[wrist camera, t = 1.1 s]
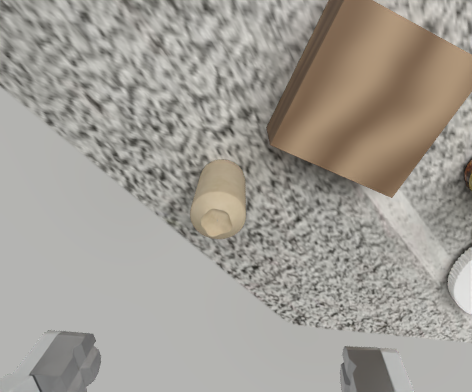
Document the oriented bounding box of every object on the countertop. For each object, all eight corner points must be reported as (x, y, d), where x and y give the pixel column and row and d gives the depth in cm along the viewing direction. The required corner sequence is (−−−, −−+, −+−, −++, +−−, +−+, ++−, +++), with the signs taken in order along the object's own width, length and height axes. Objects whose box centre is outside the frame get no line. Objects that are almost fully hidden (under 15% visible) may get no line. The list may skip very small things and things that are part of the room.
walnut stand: (266, 127, 37) (270, 145, 32) (332, -6, 31) (350, -12, 26) (371, 174, 40) (392, 197, 34) (451, 58, 34) (491, 65, 28)
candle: (253, 170, 40) (256, 213, 31) (233, 206, 42) (230, 255, 33) (210, 151, 39) (201, 189, 30) (193, 189, 41) (179, 235, 32)
